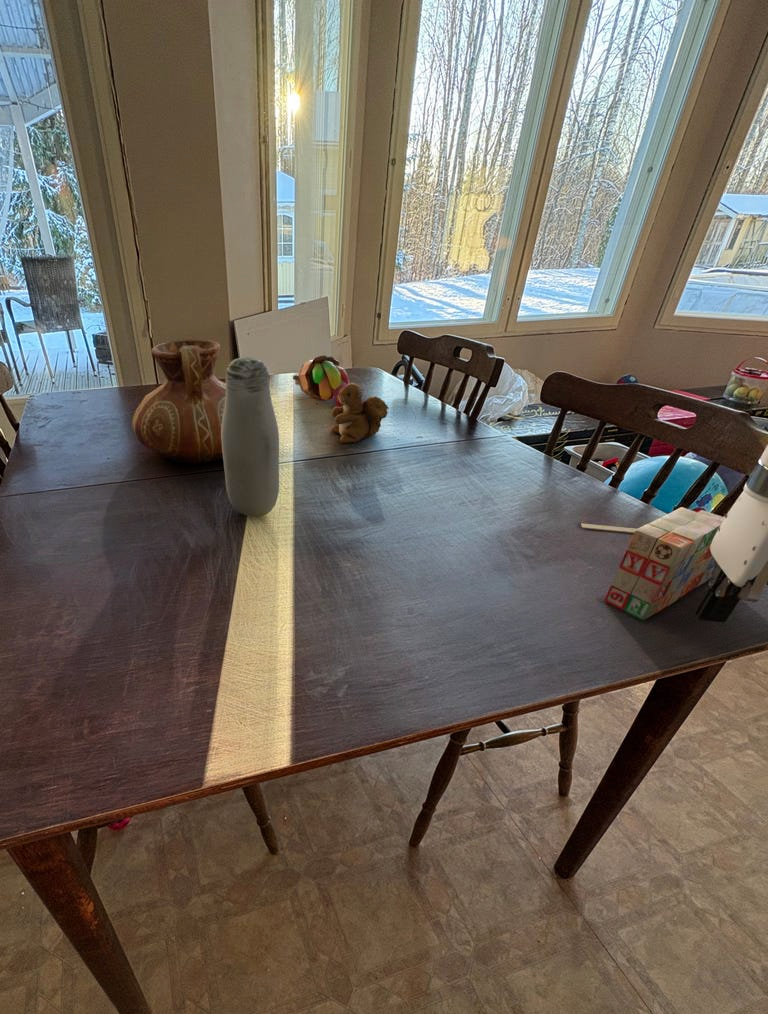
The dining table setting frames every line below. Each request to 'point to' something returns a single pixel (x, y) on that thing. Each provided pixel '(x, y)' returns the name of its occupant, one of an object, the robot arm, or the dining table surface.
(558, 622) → the dining table surface
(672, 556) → the stack of blocks
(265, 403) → the grey bottle
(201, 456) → the jug
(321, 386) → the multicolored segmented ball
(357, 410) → the stuffed squirrel
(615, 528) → the strip
